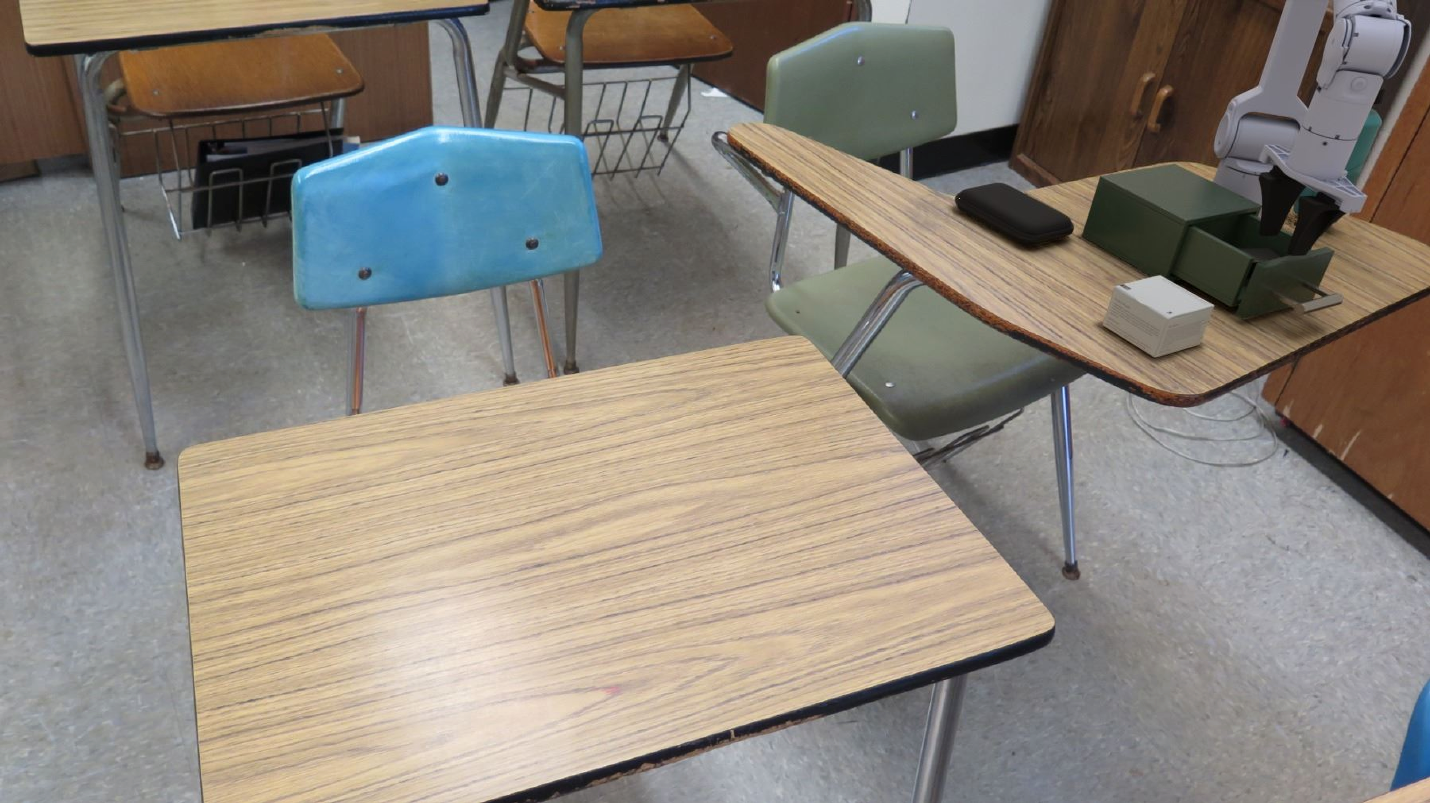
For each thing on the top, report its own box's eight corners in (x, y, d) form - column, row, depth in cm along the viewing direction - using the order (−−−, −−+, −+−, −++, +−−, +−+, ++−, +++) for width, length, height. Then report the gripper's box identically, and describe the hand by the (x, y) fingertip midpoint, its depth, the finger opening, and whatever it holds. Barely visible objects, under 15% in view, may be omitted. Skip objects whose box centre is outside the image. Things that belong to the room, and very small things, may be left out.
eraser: (1259, 271, 132) (1269, 248, 131) (1277, 285, 130) (1287, 261, 128) (1201, 272, 131) (1210, 248, 129) (1218, 286, 128) (1227, 262, 126)
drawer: (1347, 319, 126) (1372, 268, 122) (1278, 339, 120) (1302, 286, 117) (1225, 254, 138) (1244, 206, 135) (1157, 270, 133) (1174, 220, 129)
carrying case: (1083, 239, 141) (1001, 195, 150) (1089, 217, 139) (1006, 175, 149) (1026, 254, 135) (945, 208, 145) (1032, 231, 134) (950, 186, 143)
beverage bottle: (1318, 237, 148) (1382, 94, 137) (1276, 218, 152) (1334, 77, 141) (1345, 229, 151) (1409, 89, 140) (1303, 211, 156) (1361, 73, 144)
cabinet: (1238, 266, 138) (1262, 205, 133) (1163, 283, 132) (1186, 220, 127) (1154, 221, 148) (1174, 163, 143) (1081, 236, 141) (1099, 175, 137)
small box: (1201, 345, 119) (1217, 305, 117) (1153, 359, 116) (1168, 318, 113) (1146, 312, 125) (1161, 273, 122) (1099, 325, 121) (1112, 285, 118)
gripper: (1409, 156, 112) (1354, 272, 120) (1314, 107, 124) (1270, 216, 131) (1354, 156, 110) (1302, 274, 118) (1263, 107, 122) (1221, 218, 129)
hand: (1281, 244), depth 124 cm, fingers open, 4 cm apart
